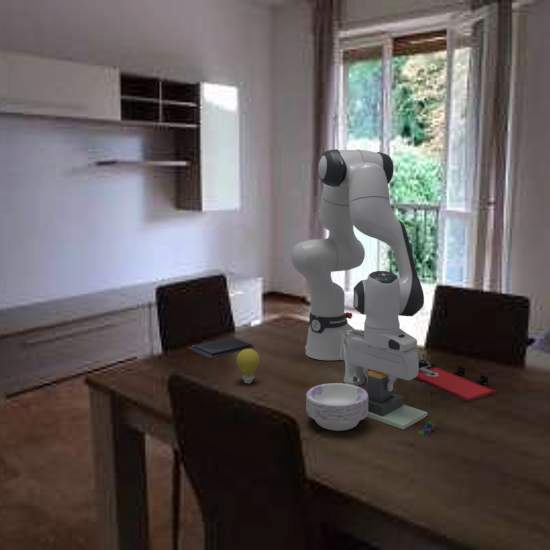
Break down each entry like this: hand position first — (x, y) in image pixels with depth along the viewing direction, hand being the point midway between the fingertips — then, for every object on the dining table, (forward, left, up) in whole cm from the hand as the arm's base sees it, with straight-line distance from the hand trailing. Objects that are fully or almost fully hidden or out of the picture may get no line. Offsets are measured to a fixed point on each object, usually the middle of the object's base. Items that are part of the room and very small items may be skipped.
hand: (379, 387), depth 154 cm
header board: (0, 0, -6) cm, 6 cm away
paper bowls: (+14, -3, -6) cm, 16 cm away
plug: (0, 0, -4) cm, 4 cm away
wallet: (-6, -70, -7) cm, 71 cm away
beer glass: (-12, -17, -6) cm, 22 cm away
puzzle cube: (+2, +16, -7) cm, 17 cm away
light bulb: (+10, -39, -6) cm, 41 cm away
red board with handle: (-32, +1, -7) cm, 33 cm away
